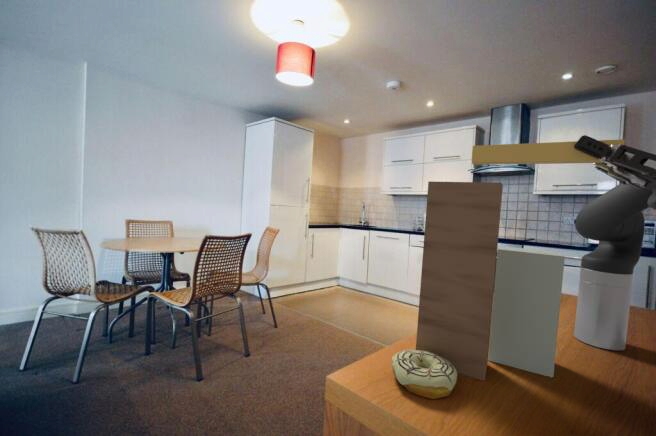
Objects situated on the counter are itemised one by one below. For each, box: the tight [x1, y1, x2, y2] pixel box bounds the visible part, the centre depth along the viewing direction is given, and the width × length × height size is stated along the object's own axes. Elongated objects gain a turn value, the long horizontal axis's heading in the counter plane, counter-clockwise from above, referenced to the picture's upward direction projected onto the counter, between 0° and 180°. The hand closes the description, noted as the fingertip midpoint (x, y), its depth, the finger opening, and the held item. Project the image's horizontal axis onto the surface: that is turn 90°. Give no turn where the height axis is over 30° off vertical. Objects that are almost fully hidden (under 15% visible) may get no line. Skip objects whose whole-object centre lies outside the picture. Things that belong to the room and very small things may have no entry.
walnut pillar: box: [415, 180, 504, 382], centre depth 59 cm, size 7×12×34 cm, turn 60°
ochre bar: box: [471, 138, 626, 166], centre depth 53 cm, size 3×20×3 cm, turn 59°
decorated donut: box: [391, 349, 458, 400], centre depth 53 cm, size 10×11×4 cm
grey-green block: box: [488, 245, 566, 378], centre depth 62 cm, size 8×10×22 cm
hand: (576, 143), depth 50 cm, fingers closed on ochre bar, 3 cm apart
